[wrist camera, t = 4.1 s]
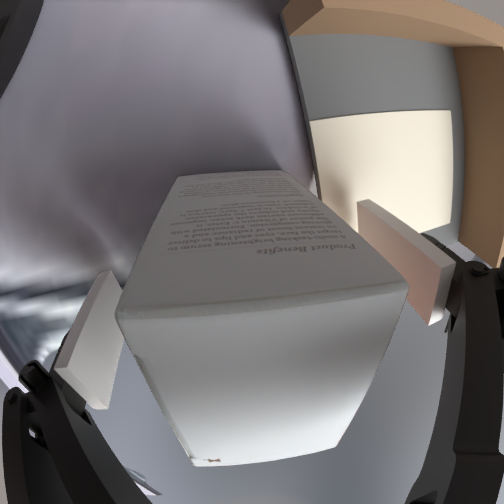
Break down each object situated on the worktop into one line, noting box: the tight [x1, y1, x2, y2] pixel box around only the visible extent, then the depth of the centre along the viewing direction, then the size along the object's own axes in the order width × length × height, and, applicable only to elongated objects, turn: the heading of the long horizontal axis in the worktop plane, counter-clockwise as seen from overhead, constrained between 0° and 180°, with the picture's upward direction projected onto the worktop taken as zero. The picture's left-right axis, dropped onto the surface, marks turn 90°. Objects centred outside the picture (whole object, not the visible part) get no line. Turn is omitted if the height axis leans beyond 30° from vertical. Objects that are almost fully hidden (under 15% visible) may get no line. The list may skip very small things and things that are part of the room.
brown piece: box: [279, 0, 504, 268], centre depth 12 cm, size 13×16×5 cm
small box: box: [114, 170, 410, 466], centre depth 11 cm, size 8×6×10 cm
